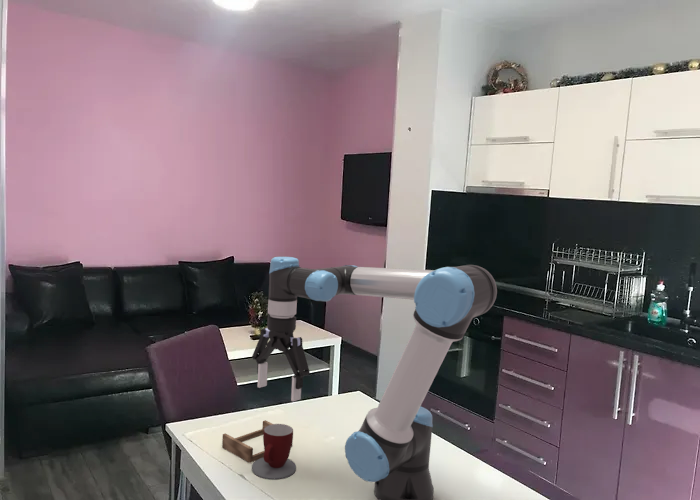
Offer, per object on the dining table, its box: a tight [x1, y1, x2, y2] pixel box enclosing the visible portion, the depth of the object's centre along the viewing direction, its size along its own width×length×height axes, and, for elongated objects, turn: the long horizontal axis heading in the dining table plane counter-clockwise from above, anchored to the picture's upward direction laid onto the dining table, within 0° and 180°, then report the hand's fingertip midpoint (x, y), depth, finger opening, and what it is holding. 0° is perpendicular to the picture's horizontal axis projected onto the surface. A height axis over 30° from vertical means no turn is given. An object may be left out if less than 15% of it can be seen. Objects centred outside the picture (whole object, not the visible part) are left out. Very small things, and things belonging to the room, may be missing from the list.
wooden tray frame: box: [221, 420, 293, 464], centre depth 168 cm, size 13×16×4 cm
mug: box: [262, 423, 294, 468], centre depth 155 cm, size 11×8×10 cm
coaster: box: [251, 457, 297, 481], centre depth 156 cm, size 12×12×1 cm
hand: (278, 393), depth 154 cm, fingers open, 13 cm apart
